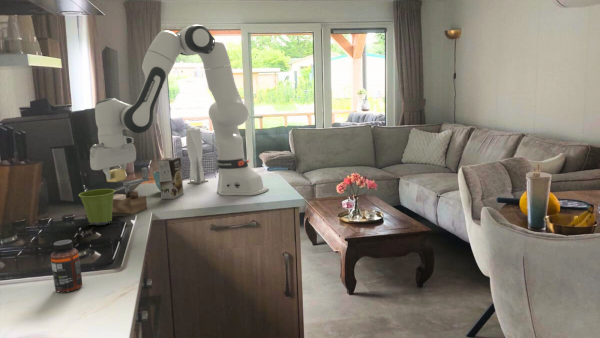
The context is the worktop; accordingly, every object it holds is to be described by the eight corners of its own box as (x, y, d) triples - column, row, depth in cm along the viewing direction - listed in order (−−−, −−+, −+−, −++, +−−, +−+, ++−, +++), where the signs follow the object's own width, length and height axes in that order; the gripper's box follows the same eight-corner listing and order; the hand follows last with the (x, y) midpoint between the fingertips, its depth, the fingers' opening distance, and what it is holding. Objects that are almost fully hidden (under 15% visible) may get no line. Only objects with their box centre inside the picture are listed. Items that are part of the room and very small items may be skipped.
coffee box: (175, 198, 219) (171, 160, 216) (160, 198, 220) (157, 160, 217) (184, 194, 227) (181, 157, 225) (170, 194, 229) (167, 157, 226)
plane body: (147, 208, 203) (145, 189, 202) (132, 213, 196) (130, 193, 195) (118, 206, 210) (116, 187, 208) (102, 211, 203) (100, 192, 201)
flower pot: (166, 193, 230) (165, 173, 229) (154, 192, 235) (152, 172, 234) (182, 190, 237) (180, 170, 235) (169, 188, 242) (168, 169, 241)
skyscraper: (185, 183, 253) (179, 125, 248) (194, 180, 260) (190, 123, 255) (199, 184, 249) (194, 124, 245) (209, 180, 256) (204, 123, 252)
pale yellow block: (126, 179, 204) (124, 169, 203) (116, 181, 200) (115, 171, 199) (116, 178, 206) (115, 168, 205) (106, 181, 202) (105, 171, 201)
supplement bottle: (81, 281, 127) (75, 236, 126) (84, 289, 122) (78, 242, 120) (54, 287, 125) (48, 241, 123) (56, 295, 120) (49, 247, 118)
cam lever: (128, 197, 199) (125, 172, 198) (124, 197, 201) (121, 172, 199) (150, 191, 209) (147, 167, 207) (146, 191, 210) (144, 167, 208)
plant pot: (76, 225, 182) (72, 193, 181) (108, 218, 191) (104, 187, 189) (92, 230, 174) (88, 197, 173) (125, 222, 183) (121, 190, 181)
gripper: (95, 145, 190) (101, 183, 192) (136, 137, 208) (141, 172, 210) (83, 145, 193) (88, 183, 195) (124, 138, 210) (129, 172, 213)
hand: (116, 177), depth 203 cm, fingers closed on pale yellow block, 5 cm apart
